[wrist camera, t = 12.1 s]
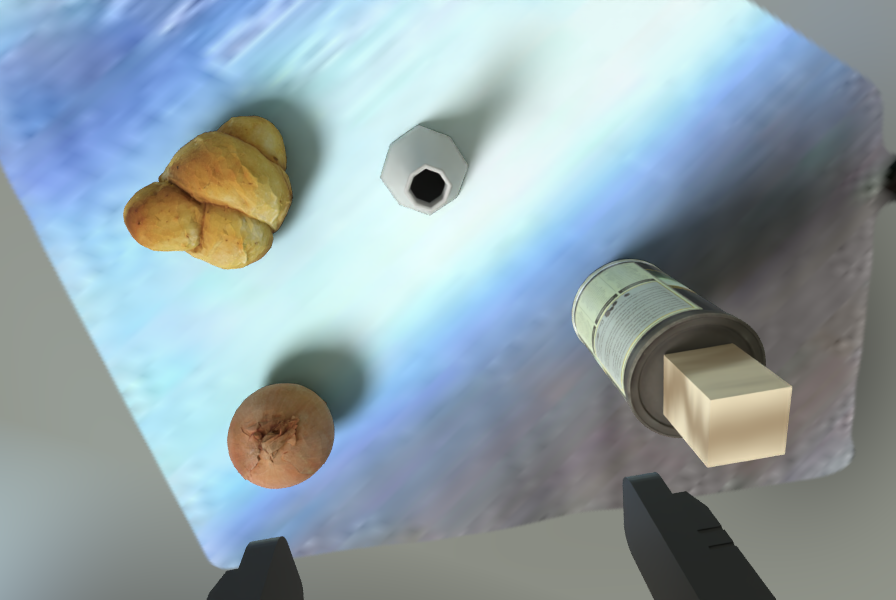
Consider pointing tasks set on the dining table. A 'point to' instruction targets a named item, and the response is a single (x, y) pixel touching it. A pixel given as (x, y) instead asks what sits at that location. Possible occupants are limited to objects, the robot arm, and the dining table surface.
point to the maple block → (726, 404)
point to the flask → (424, 170)
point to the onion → (280, 435)
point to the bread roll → (217, 196)
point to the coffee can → (649, 331)
